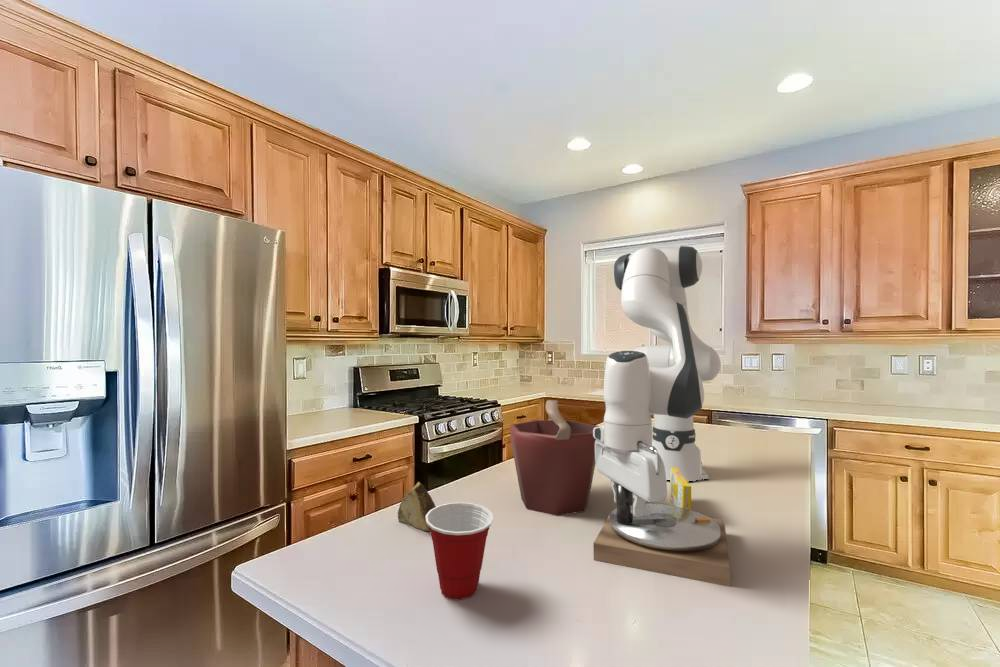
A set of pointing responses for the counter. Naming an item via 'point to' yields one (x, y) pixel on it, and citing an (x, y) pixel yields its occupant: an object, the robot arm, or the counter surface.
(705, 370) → the robot arm
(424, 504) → the rock
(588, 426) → the bucket
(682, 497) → the candy box
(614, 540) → the walnut base
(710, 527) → the handwheel
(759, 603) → the counter surface
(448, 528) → the plastic cup
